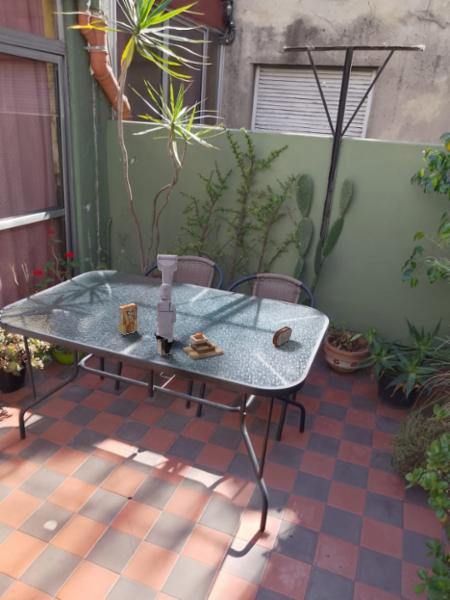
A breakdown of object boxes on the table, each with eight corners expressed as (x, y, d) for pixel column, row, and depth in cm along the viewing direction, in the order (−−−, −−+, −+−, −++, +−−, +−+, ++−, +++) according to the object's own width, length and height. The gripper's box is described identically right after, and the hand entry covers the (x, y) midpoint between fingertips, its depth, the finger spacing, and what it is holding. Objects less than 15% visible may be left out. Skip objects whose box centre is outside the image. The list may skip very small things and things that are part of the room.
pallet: (182, 349, 221) (182, 343, 220) (211, 343, 229) (211, 338, 228) (194, 359, 211) (194, 353, 210) (223, 353, 219) (223, 347, 218)
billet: (157, 353, 216) (157, 339, 214) (167, 351, 219) (167, 338, 216) (160, 356, 213) (161, 343, 211) (170, 354, 216) (170, 341, 213)
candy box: (132, 329, 241) (132, 302, 236) (137, 332, 238) (137, 304, 233) (119, 333, 235) (118, 306, 229) (123, 336, 232) (123, 308, 227)
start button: (194, 339, 230) (194, 333, 229) (200, 338, 232) (200, 332, 230) (197, 342, 227) (197, 335, 226) (203, 341, 229) (203, 334, 228)
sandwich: (286, 338, 241) (288, 323, 238) (292, 340, 239) (293, 325, 236) (271, 347, 230) (272, 331, 227) (276, 348, 228) (278, 333, 225)
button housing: (189, 341, 231) (189, 335, 230) (201, 338, 234) (201, 333, 233) (195, 346, 225) (196, 341, 224) (208, 344, 229) (208, 338, 228)
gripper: (150, 319, 214) (150, 345, 219) (162, 330, 203) (162, 357, 207) (163, 317, 218) (163, 342, 223) (176, 328, 206) (176, 354, 211)
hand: (164, 350), depth 215 cm, fingers open, 7 cm apart
